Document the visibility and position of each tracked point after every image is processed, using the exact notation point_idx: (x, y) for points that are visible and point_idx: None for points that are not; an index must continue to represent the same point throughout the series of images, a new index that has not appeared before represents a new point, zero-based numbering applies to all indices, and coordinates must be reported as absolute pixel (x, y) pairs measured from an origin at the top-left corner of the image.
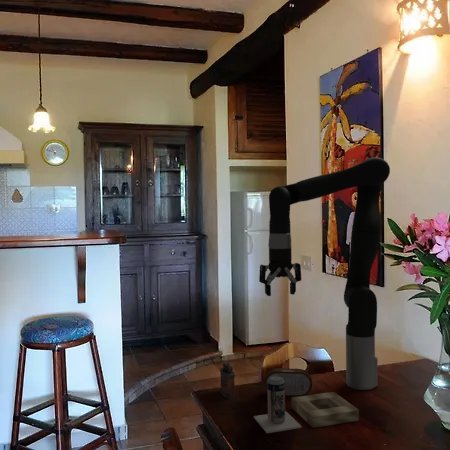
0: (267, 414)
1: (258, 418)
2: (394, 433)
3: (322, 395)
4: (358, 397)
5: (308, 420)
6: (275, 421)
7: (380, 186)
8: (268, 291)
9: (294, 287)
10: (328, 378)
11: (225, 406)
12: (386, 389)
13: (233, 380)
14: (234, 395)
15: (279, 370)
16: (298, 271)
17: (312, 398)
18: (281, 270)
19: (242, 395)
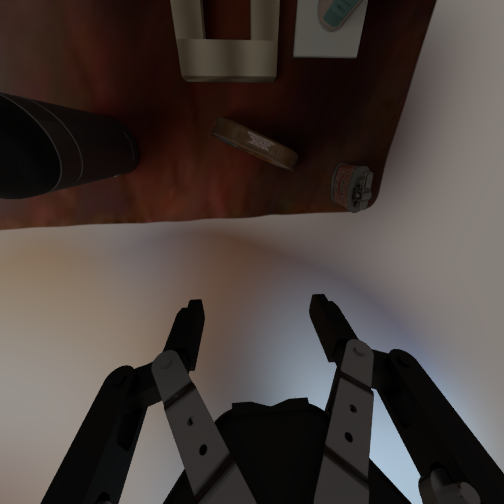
0: (332, 53)
1: (355, 39)
2: None
3: (211, 61)
4: (130, 84)
5: None
6: None
7: None
8: (330, 312)
9: (181, 326)
10: (163, 197)
11: (366, 134)
12: None
13: (354, 167)
14: (339, 164)
15: (276, 149)
16: (84, 474)
17: (238, 51)
18: (282, 490)
19: (321, 171)
